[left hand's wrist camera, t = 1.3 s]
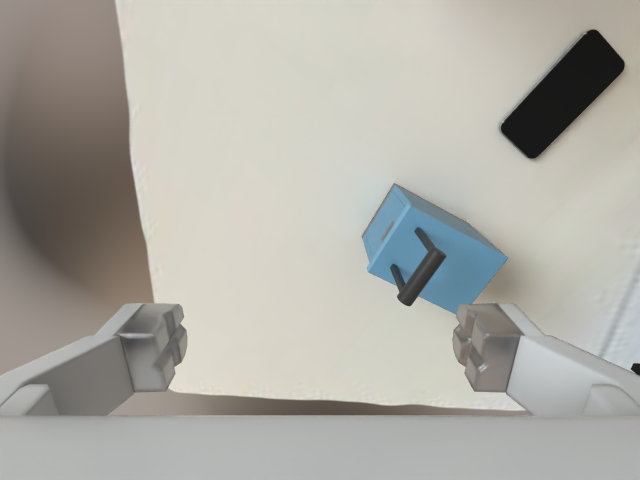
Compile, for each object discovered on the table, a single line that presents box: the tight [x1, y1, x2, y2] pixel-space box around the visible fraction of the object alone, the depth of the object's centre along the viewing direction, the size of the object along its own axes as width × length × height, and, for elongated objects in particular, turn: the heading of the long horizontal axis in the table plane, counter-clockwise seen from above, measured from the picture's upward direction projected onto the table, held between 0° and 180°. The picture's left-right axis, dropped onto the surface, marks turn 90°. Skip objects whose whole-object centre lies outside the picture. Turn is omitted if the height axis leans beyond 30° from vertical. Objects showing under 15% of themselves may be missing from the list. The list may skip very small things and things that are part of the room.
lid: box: [367, 203, 508, 314], centre depth 39 cm, size 14×9×9 cm
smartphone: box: [499, 30, 625, 158], centre depth 46 cm, size 7×1×15 cm
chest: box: [362, 183, 502, 262], centre depth 48 cm, size 13×9×11 cm
